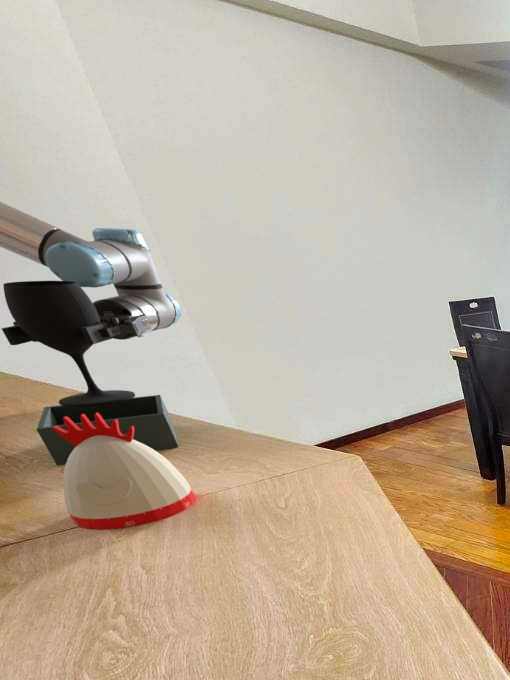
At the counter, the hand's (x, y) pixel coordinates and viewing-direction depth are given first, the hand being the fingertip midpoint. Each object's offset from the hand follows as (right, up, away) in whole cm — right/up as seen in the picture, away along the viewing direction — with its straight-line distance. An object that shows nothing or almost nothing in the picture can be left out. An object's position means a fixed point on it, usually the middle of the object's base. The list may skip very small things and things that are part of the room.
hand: (48, 336), depth 101 cm
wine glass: (-2, -9, +10) cm, 13 cm away
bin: (-2, -16, +14) cm, 21 cm away
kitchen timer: (+26, -31, -10) cm, 41 cm away
